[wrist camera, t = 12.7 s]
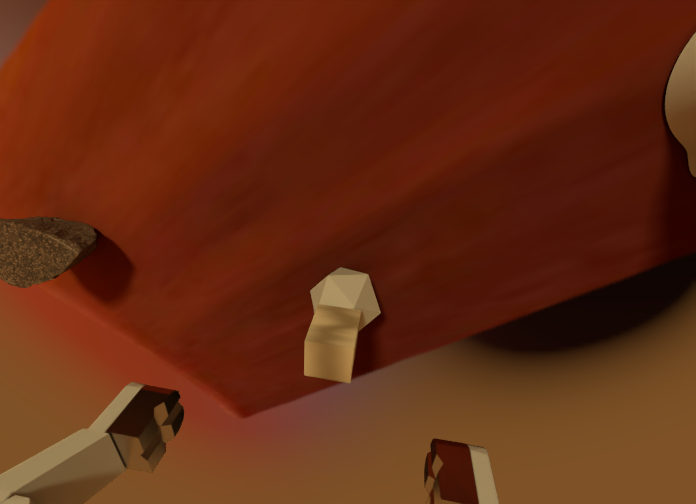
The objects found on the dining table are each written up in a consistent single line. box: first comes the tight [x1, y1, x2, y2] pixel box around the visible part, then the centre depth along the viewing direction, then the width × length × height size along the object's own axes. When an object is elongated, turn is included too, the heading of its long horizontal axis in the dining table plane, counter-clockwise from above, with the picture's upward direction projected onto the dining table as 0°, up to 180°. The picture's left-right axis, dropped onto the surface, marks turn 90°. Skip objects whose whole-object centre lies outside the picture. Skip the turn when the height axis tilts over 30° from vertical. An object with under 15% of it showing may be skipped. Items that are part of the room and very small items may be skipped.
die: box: [310, 267, 381, 331], centre depth 42 cm, size 8×9×10 cm
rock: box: [0, 217, 97, 288], centre depth 45 cm, size 12×10×10 cm
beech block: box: [304, 304, 361, 383], centre depth 37 cm, size 5×5×6 cm
